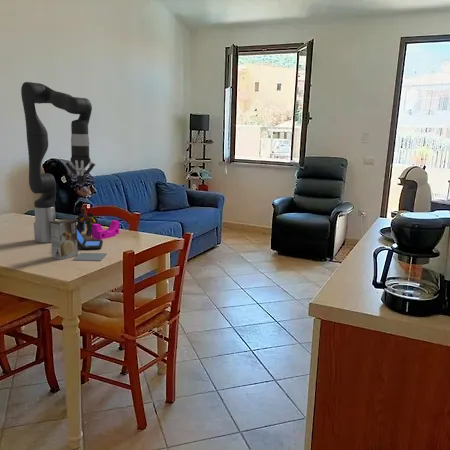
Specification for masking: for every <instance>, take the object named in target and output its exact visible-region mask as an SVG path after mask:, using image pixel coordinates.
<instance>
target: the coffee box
mask: <svg viewBox="0 0 450 450" xmlns="http://www.w3.org/2000/svg"><path fill="white" fill-rule="evenodd" d="M50 228H51V242H50V244H51V257H52V258H53V259H56V260H65V259H70V258H72V257H73V258H74V257H76V256H77V255H78V254H79V250H78V248H79V247H78V246H79V244H78V243H77V219H70V218H69V219H68V218H64V219H58V220H55V221H52V222H50Z"/></svg>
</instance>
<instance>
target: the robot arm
mask: <svg viewBox="0 0 450 450" xmlns="http://www.w3.org/2000/svg"><path fill="white" fill-rule="evenodd" d="M20 90H21V91H20V93H21V94H20V95H21V101H22V105H23V106H22V107H23V112H24V119H25V128H26V129H25V130H26V132H25V133H26V143H27V151H28V154H27V155H28V184H29V189H30V191H31V192H32V193H33V194H41V196H40V197H39V198H38V199H36V200H35V201H34V202H33V203H34V219H35V221H34V222H33V234H34V242H35V243H36V242H37V243H40V244H43V243H45V244H46V243H51V228H50V222H52V221H56V205H55V203H56V201H57V198H56V197H57V194H56V193H57V183H56V179H55V176H54V175H53V174H51V173H42V172H41V171H42V170H41V169H42V167H41V166H42V161H43V159H44V157H45V155H46V154H47V151H48V149H49V135H48V131H47V129H46V127H45V125H44V123H43V122H42V120H41V119H40V118H39V115H38V114H37V110H36V109H37V108H36V104H52V105H53V106H54V107H55V108H57V109H61V110H62V111H63V110H64V111H65V112H67V113H69V114H72V115H79V116H78V118H77V119H74V120H72V121H71V123H70V127H71V128H70V129H71V134H70V135H71V138H70V143H71V144H70V150H71V154H70V155H71V157H70V160H69V161H68V162H65V165H66V167H67V168H68V169H69V170H70V172H71V173H72V174H73V175H76V178H77V179H76V180H77V183H78V184H79V185H83V184H84V183H86V182H85V176H86V175H89V174H90V173H91V171H93V169H94V167H95V166H96V163H94V162H93V161H91V158H90V137H89V124H90V119H91V116H92V115H91V114H92V111H93V105H92V102H91V101H90V99H88V98H85V97H76V96H72V95H71V94H67V93H66V92H65V93H64V92H61V91H56V90H54V89H52V88H50V87H49V86H47V85H45V84H42V83H41V82H40V83H39V82H31V81H25V82H23V83H22V85H21V88H20ZM87 166H88V168H87ZM86 168H87V169H86Z"/></svg>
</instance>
